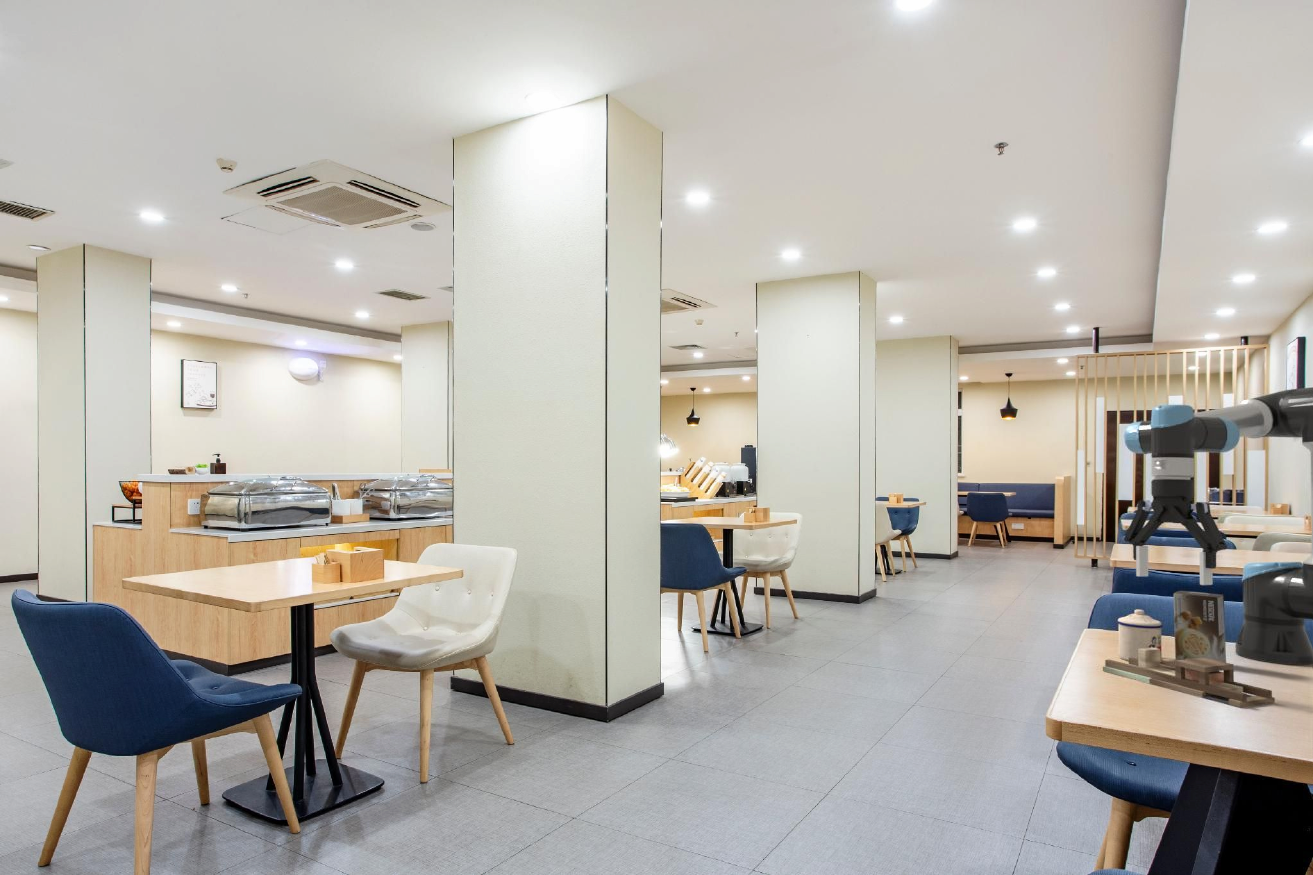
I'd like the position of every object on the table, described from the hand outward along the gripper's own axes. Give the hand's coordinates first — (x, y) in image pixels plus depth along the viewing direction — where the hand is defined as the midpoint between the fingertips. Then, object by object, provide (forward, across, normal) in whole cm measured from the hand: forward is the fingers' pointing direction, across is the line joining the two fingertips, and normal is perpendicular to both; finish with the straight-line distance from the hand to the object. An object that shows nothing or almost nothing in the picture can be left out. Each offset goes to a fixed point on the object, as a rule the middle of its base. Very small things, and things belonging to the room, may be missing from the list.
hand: (1173, 580), depth 165 cm
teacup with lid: (+22, -19, +16) cm, 33 cm away
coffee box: (+21, -12, +26) cm, 36 cm away
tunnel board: (+21, +1, +1) cm, 22 cm away
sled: (+20, +2, +1) cm, 20 cm away
